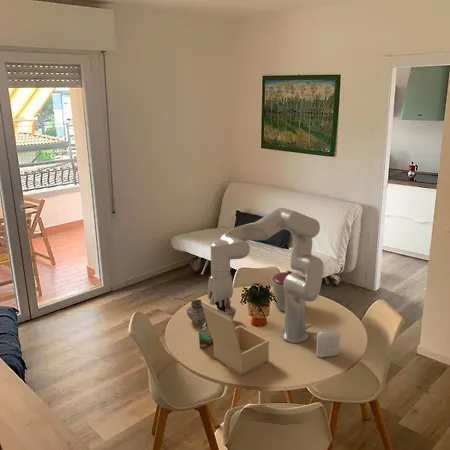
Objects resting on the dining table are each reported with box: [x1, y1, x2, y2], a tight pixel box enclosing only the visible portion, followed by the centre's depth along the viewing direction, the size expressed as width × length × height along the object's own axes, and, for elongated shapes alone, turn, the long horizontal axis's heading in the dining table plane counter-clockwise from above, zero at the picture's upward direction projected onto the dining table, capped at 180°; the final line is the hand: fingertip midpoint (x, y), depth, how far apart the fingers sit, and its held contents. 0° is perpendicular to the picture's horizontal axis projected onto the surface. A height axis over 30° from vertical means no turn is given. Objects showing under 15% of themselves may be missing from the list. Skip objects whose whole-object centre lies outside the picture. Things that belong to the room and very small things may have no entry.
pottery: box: [186, 298, 237, 325], centre depth 235 cm, size 11×25×12 cm, turn 87°
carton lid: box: [201, 300, 242, 356], centre depth 191 cm, size 20×18×1 cm
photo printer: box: [315, 328, 341, 358], centre depth 205 cm, size 10×4×12 cm, turn 103°
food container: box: [198, 318, 213, 349], centre depth 216 cm, size 12×6×10 cm, turn 168°
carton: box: [212, 325, 270, 377], centre depth 203 cm, size 16×18×10 cm
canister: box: [271, 270, 301, 312], centre depth 247 cm, size 18×18×21 cm
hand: (221, 314), depth 190 cm, fingers closed
